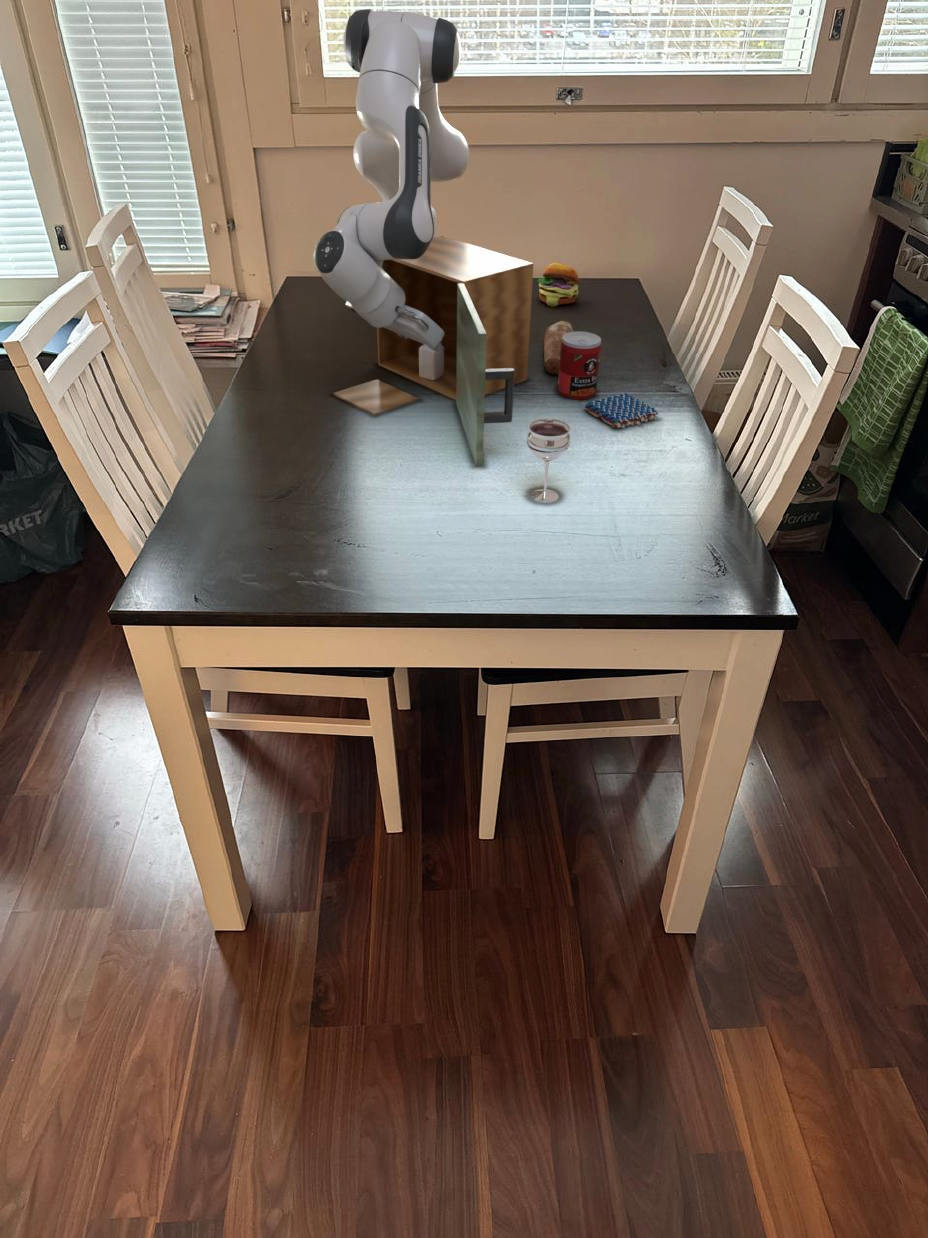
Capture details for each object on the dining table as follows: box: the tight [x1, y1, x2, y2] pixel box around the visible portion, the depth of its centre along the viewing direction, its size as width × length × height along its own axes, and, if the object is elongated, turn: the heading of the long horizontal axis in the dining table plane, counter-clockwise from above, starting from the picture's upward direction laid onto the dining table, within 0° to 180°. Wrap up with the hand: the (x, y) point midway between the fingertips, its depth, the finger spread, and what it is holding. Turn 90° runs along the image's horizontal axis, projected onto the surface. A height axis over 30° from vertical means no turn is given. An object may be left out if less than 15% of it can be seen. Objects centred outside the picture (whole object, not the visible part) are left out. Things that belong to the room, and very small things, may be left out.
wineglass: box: [526, 418, 572, 504], centre depth 146 cm, size 7×7×12 cm
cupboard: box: [376, 235, 534, 401], centre depth 184 cm, size 18×26×23 cm
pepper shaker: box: [419, 344, 444, 380], centre depth 185 cm, size 4×4×10 cm
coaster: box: [333, 378, 420, 417], centre depth 180 cm, size 13×11×1 cm
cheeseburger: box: [537, 262, 581, 308], centre depth 228 cm, size 10×11×10 cm
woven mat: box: [584, 392, 659, 429], centre depth 174 cm, size 10×11×2 cm
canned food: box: [557, 330, 602, 401], centre depth 180 cm, size 8×8×11 cm
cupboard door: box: [455, 283, 515, 467], centre depth 161 cm, size 6×26×23 cm, turn 8°
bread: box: [543, 320, 575, 375], centre depth 196 cm, size 6×19×6 cm, turn 170°
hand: (421, 341), depth 182 cm, fingers open, 8 cm apart
